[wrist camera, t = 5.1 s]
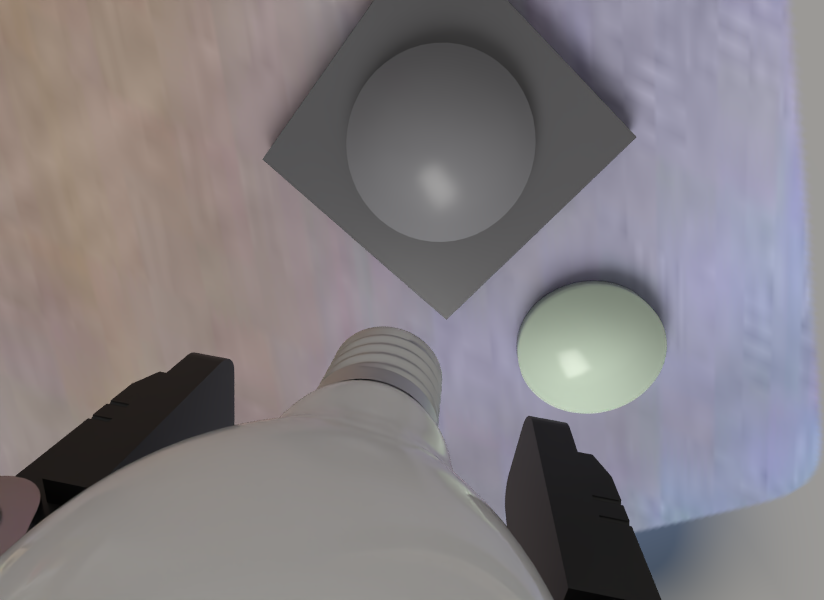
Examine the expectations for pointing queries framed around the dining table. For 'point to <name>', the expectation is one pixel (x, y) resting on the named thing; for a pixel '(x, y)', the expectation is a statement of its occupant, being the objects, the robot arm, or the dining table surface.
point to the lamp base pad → (446, 140)
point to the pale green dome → (591, 347)
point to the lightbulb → (290, 506)
